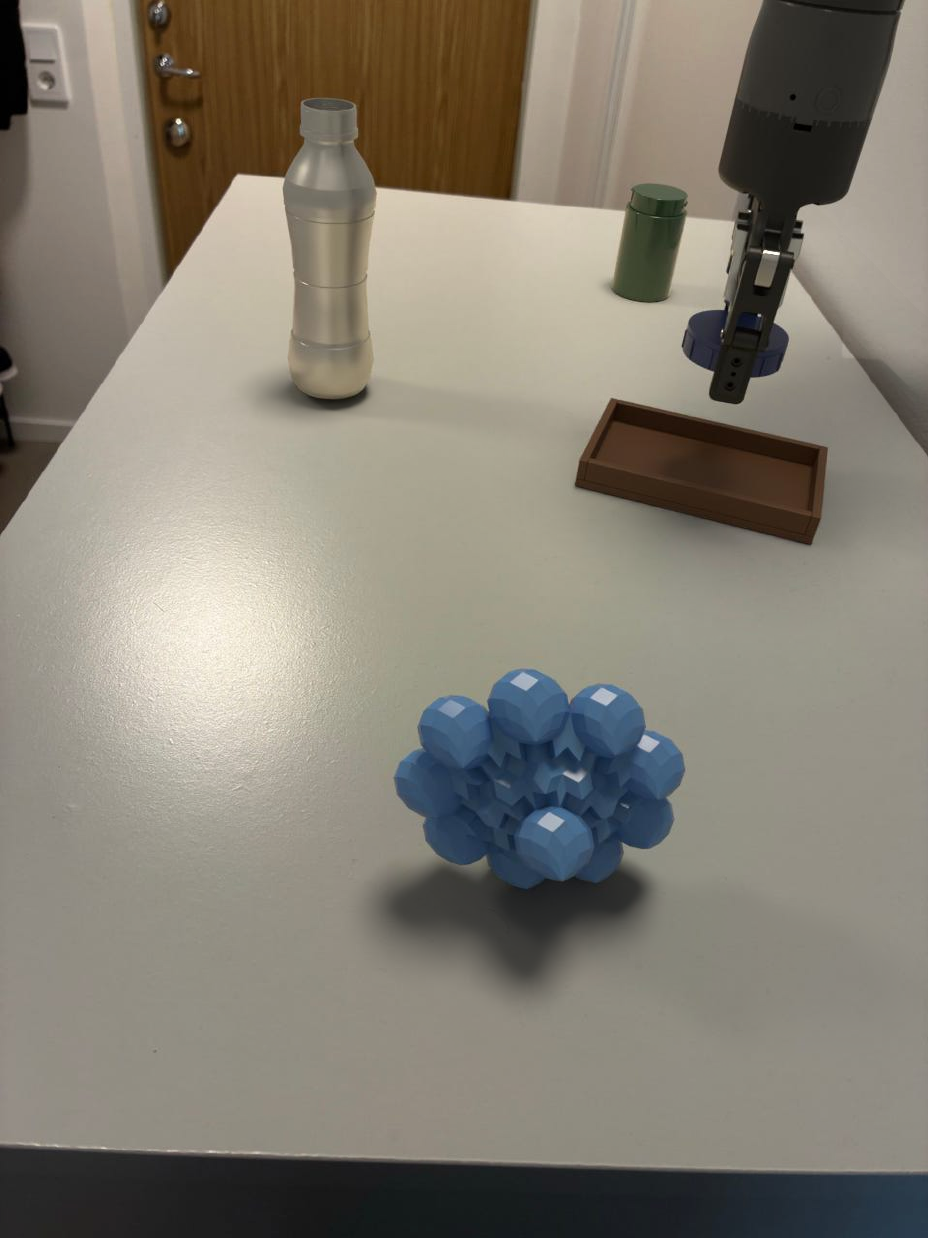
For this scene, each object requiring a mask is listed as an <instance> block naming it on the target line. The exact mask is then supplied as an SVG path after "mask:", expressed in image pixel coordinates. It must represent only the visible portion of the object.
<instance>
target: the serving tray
mask: <svg viewBox="0 0 928 1238" xmlns="http://www.w3.org/2000/svg"><path fill="white" fill-rule="evenodd" d="M828 450H829V447H828V446H825V445H820V444H816V443H812V442H808V441H803V440H798V439H795V438H794V439H793V438H789V437H785V436H781V435H776V434H774V433H773V434H772V433H768V432H764V431H759V430H754V429H750V428H746V427H742V426H737V425H733V424H728V423H723V422H719V421H714V420H710V419H706V418H702V417H698V416H693V415H689V414H684V413H680V412H676V411H671V410H666V409H662V408H658V407H653V406H649V405H645V404H641V403H636V402H631V401H627V400H623V399H617V398H614V397H611V398H610V399H609V401H608V402H607V405H606V407H605V409H604V410H603V413H602V415H601V417H600V419H599V420H598V423H597V425H596V427H595V428H594V431H593V432H592V435H591V436H590V438H589V440H588V442H587V444H586V446H585V448H584V450H583V452H582V454H581V456H580V458H579V460H578V466H577V471H576V476H575V482H574V486H575V487H580V488H583V489H586V490H592V491H596V492H598V493H603V494H607V495H611V496H615V497H619V498H623V499H627V500H631V501H636V502H639V503H643V504H648V505H652V506H655V507H660V508H663V509H668V510H672V511H676V512H680V513H683V514H688V515H691V516H695V517H699V518H703V519H708V520H712V521H716V522H720V523H724V524H728V525H732V526H735V527H740V528H744V529H748V530H752V531H754V532H755V531H756V532H760V533H764V534H766V535H767V534H768V535H771V536H772V535H773V536H776V537H780V538H784V539H788V540H792V541H796V542H801V543H803V544H808V545H812V543H813V541H814V538H815V536H816V533H817V530H818V528H819V526H820V523H821V520H822V513H823V503H824V493H825V483H826V482H825V481H826V472H827V463H828V462H827V461H828V452H829V451H828Z"/></svg>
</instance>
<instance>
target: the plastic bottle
mask: <svg viewBox="0 0 928 1238" xmlns="http://www.w3.org/2000/svg"><path fill="white" fill-rule="evenodd" d="M299 135H300V136H301V137H303V138H304V140H303V145H302V146H301V148H300V149H299V151H298V152H297V154H296V155H295V157H294V158H293V160H292V162H291V164H290V166H289V167H288V170H287V171H286V173H285V176H284V181H283V185H282V195H283V196H282V197H283V205H284V211H285V217H286V223H287V230H288V235H289V241H290V246H291V261H292V262H291V263H292V269H293V275H292V276H293V302H292V303H293V305H292V325H291V327H292V328H291V331H290V335H289V339H288V351H287V363H288V367H289V373H290V377H291V379H292V381H293V382H294V384H295V385H296V387H297V388H298V389H299V390H300V391H301V392H302V393H304V394H305V395H308V396H310V397H313V398H317V399H323V400H341V399H347V398H351V397H353V396H356V395H358V394H359V393H361V392H362V391H363V390H364V389H365V387H366V385H367V384H368V383H369V382H370V380H371V376H372V370H373V366H374V362H375V361H374V360H375V358H374V347H373V341H372V336H371V331H370V325H369V324H370V323H369V322H370V321H369V309H368V308H369V307H368V306H369V305H368V291H367V288H368V286H367V285H368V272H367V271H368V270H369V258H370V245H371V238H372V231H373V224H374V219H375V213H376V210H375V209H376V207H377V195H378V193H377V187H376V184H375V180H374V177H373V175H372V173H371V171H370V169H369V167H368V164H367V163H366V162H365V160H364V158H363V156H361V154H360V152H359V151H358V149H357V148H356V146H355V140H357V139H358V138H359V127H358V108H357V105H356V104H355V103H354V102H352V101H349V100H346V99H341V98H332V97H331V98H330V97H314V98H307V99H304V100H302V101H301V102H300V124H299Z"/></svg>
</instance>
